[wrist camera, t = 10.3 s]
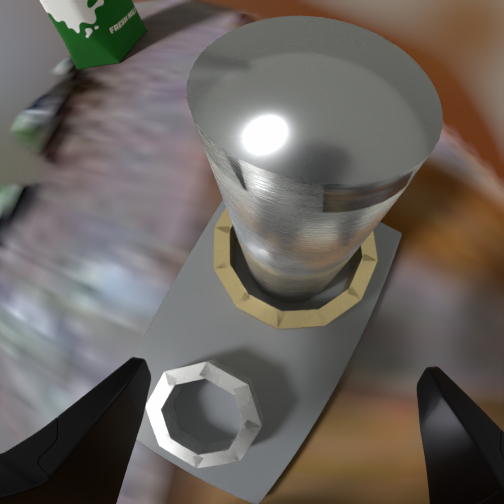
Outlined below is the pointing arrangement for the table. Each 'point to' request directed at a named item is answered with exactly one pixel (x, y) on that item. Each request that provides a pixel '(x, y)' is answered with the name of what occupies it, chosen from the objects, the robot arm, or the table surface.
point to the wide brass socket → (289, 320)
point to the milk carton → (96, 29)
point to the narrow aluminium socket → (187, 444)
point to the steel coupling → (309, 141)
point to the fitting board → (252, 361)
